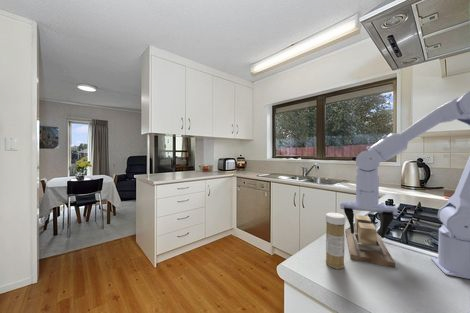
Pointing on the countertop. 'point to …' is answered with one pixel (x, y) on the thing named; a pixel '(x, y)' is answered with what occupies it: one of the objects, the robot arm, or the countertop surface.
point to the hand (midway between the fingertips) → (366, 234)
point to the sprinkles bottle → (335, 240)
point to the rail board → (367, 246)
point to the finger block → (366, 233)
